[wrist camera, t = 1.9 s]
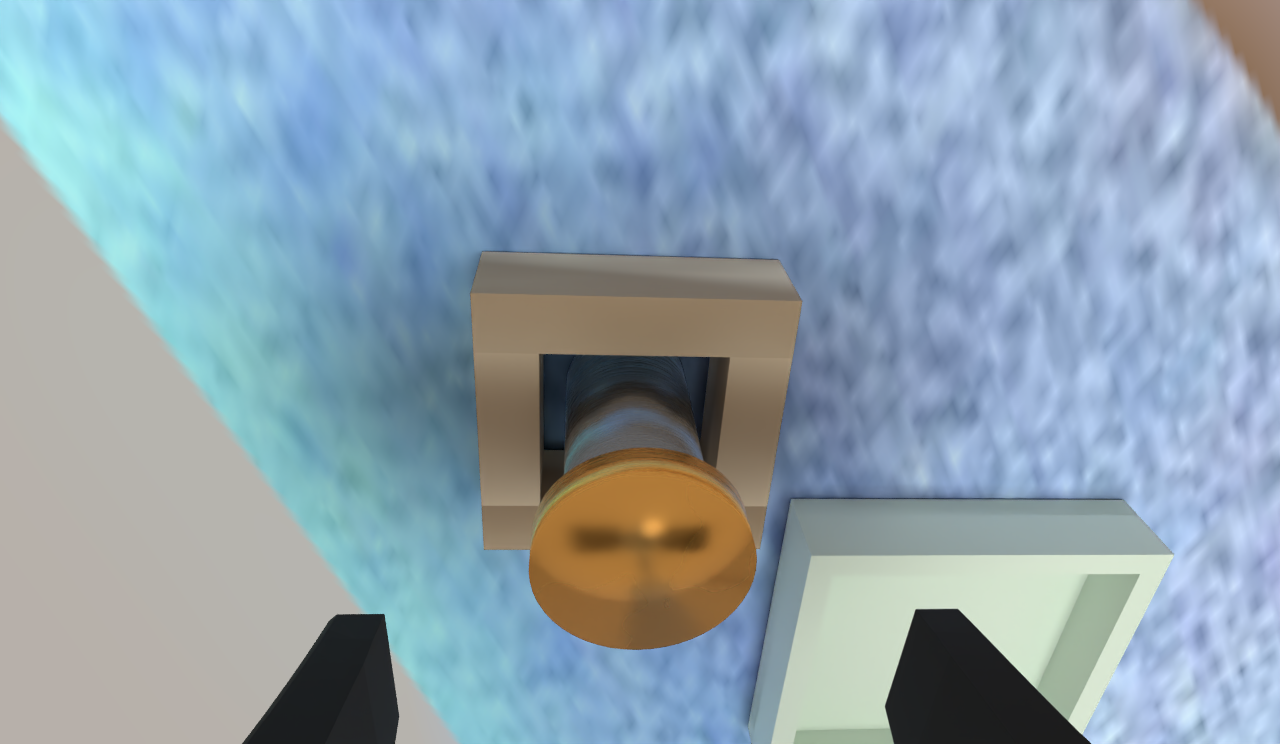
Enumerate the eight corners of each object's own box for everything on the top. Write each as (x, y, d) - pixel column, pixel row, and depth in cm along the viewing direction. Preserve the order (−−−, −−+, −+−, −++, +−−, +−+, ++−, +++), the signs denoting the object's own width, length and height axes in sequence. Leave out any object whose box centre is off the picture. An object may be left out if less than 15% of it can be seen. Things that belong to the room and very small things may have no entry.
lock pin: (699, 450, 19) (742, 648, 14) (543, 449, 18) (530, 651, 13) (714, 310, 17) (771, 479, 12) (543, 306, 17) (526, 478, 12)
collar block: (743, 492, 19) (759, 549, 18) (493, 491, 19) (483, 550, 17) (778, 260, 16) (802, 301, 15) (482, 251, 16) (470, 292, 14)
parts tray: (1024, 720, 25) (1057, 782, 23) (747, 726, 24) (761, 790, 22) (1123, 499, 20) (1174, 554, 19) (790, 498, 20) (811, 555, 18)
